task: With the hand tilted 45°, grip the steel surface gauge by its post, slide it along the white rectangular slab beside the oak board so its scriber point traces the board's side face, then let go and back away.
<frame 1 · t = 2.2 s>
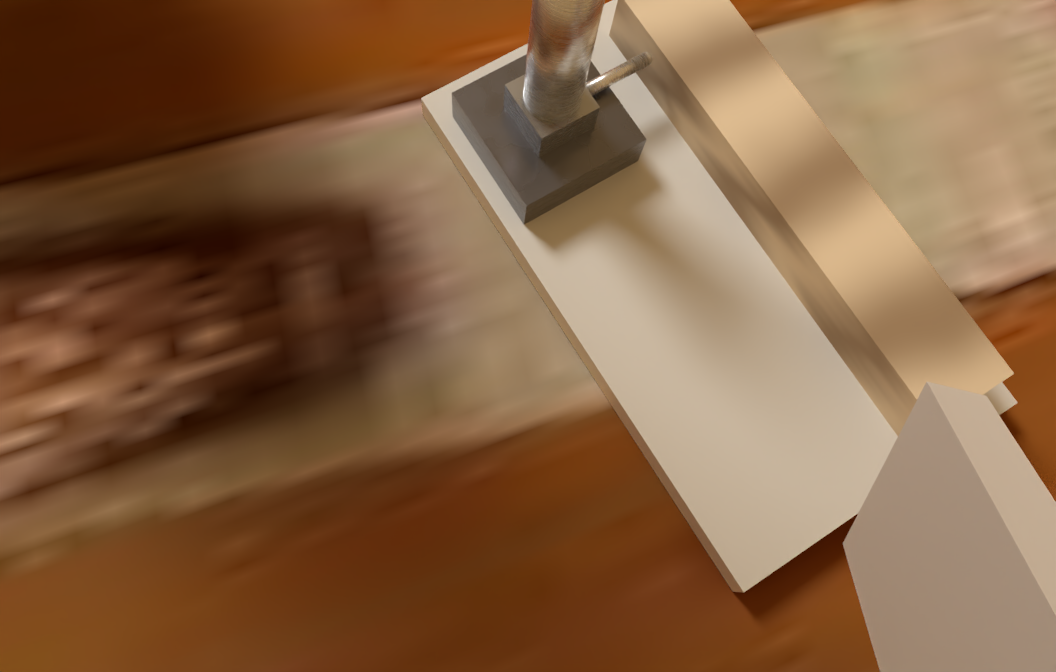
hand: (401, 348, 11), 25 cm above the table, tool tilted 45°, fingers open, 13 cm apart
surface gauge: (545, 138, 38), point 1 cm above the table, touching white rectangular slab
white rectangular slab: (702, 258, 39), on the table
oak board: (781, 204, 38), resting on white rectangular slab
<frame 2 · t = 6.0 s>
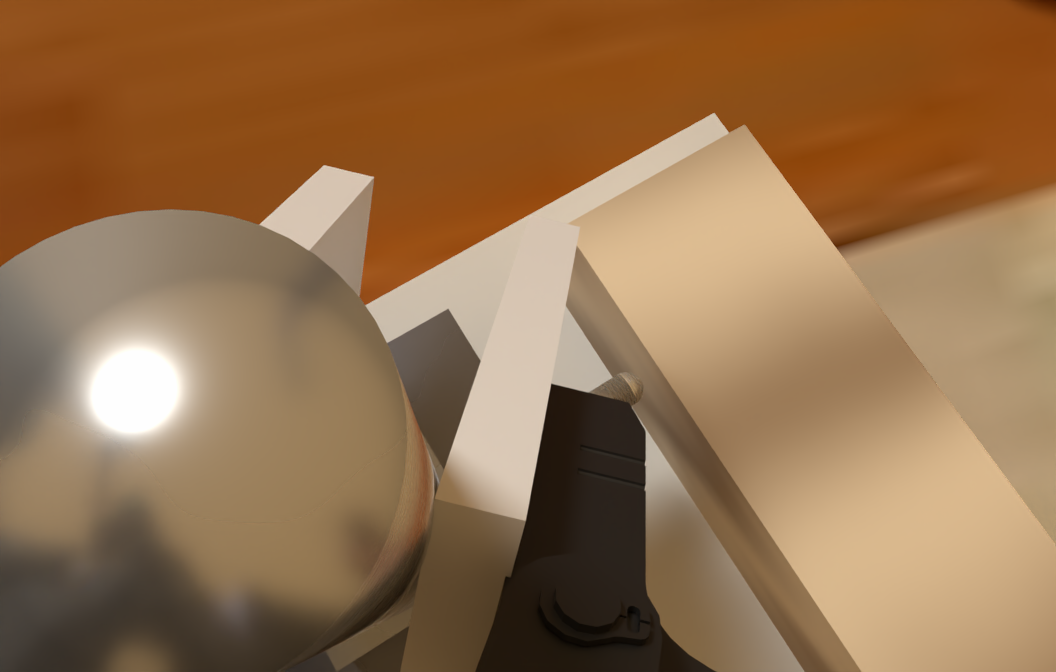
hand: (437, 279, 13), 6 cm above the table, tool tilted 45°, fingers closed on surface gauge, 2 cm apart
surface gauge: (395, 544, 17), point 1 cm above the table, touching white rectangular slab, gripper
when the fingers open (6 cm above the table, at t = 10.0 s): surface gauge stays where it is, resting on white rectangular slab.
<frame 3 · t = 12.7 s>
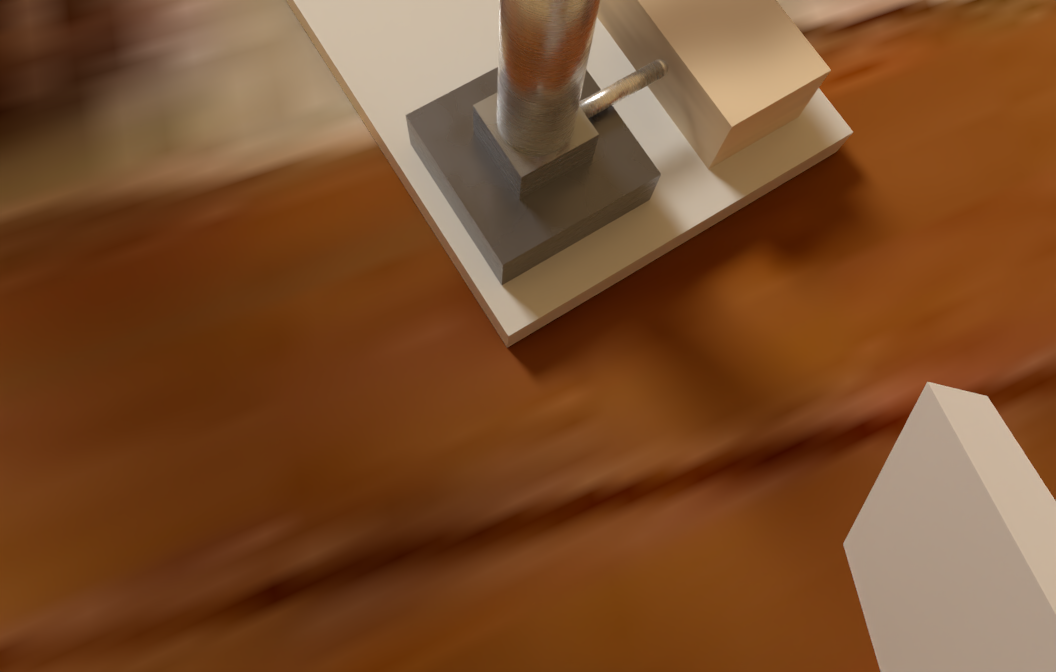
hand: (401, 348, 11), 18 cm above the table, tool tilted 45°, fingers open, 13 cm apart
surface gauge: (530, 172, 30), point 1 cm above the table, touching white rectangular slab
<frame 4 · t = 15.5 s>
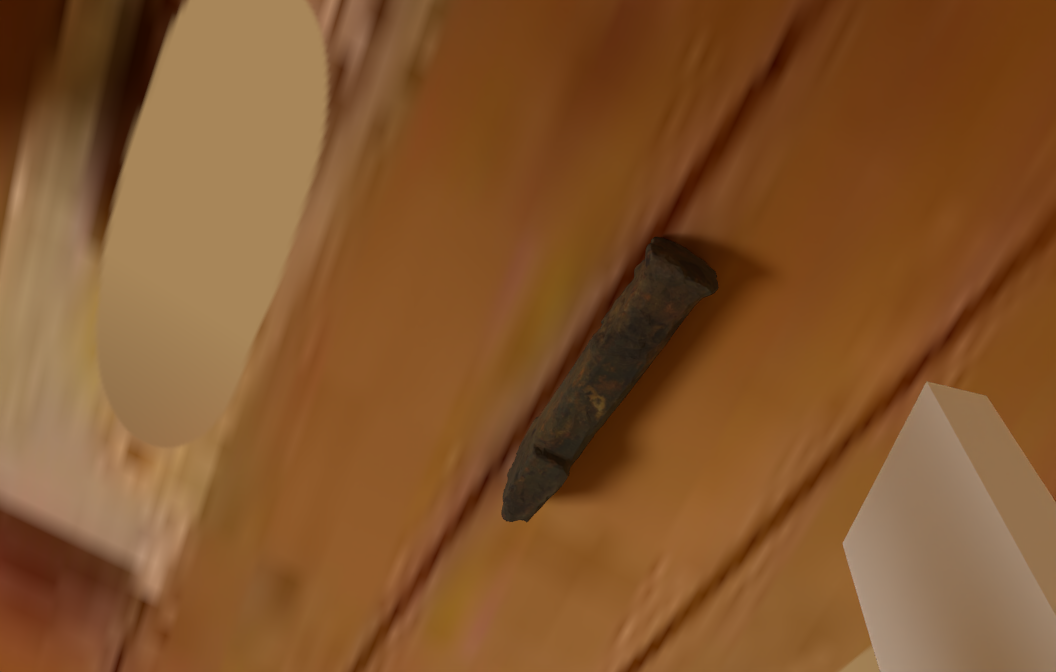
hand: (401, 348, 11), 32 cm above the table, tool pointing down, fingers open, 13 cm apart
hand tool: (599, 378, 48), on the table
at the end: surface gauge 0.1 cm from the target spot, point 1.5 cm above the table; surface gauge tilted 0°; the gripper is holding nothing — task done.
